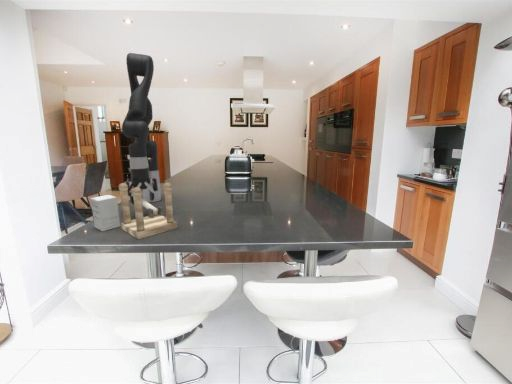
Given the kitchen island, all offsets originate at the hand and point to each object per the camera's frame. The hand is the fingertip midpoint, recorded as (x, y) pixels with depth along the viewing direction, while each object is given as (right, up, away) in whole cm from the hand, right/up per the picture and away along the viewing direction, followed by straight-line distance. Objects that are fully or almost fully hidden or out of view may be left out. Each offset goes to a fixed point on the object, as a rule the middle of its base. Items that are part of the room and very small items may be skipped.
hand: (142, 202), depth 123 cm
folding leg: (+9, -4, -8) cm, 12 cm away
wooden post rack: (+9, -10, -15) cm, 20 cm away
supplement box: (-9, -10, -13) cm, 19 cm away
